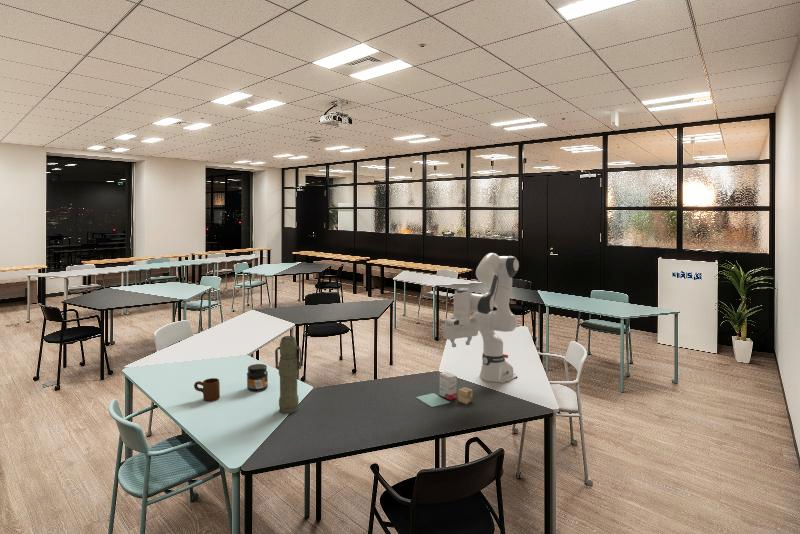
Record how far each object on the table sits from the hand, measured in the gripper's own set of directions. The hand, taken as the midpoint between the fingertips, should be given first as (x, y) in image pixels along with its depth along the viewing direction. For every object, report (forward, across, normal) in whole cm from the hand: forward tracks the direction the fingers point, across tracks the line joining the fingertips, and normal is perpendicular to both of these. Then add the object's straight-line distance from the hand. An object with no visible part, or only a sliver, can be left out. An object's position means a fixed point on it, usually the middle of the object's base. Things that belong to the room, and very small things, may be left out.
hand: (460, 345), depth 236 cm
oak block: (+26, +4, +9) cm, 27 cm away
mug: (+26, +115, -56) cm, 130 cm away
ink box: (+26, +8, 0) cm, 27 cm away
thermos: (+26, +84, -23) cm, 91 cm away
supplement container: (+26, +89, -58) cm, 110 cm away
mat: (+26, +17, 0) cm, 31 cm away
